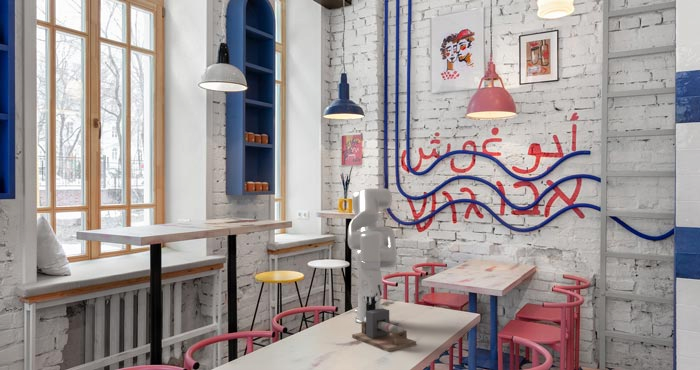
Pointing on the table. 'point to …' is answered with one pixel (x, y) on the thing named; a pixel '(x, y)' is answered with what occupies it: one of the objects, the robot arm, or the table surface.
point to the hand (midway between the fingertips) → (370, 314)
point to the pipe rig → (386, 337)
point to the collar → (372, 320)
